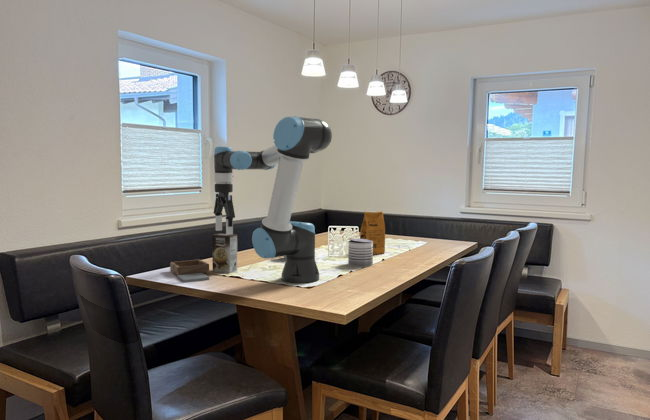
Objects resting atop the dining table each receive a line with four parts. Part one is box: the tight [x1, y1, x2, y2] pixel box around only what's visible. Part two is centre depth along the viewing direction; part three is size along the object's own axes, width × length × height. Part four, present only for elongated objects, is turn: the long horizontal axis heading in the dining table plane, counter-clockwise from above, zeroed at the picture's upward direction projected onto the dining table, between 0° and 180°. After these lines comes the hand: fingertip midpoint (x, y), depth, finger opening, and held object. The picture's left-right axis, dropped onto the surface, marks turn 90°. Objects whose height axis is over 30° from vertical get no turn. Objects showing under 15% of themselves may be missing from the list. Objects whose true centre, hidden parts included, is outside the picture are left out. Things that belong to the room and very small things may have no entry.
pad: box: [176, 273, 210, 283], centre depth 196 cm, size 10×10×1 cm
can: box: [347, 237, 374, 268], centre depth 225 cm, size 11×11×12 cm
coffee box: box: [211, 232, 238, 274], centre depth 209 cm, size 9×6×16 cm
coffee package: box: [359, 211, 386, 255], centre depth 255 cm, size 10×12×22 cm
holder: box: [169, 259, 210, 277], centre depth 207 cm, size 13×13×4 cm
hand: (224, 232), depth 209 cm, fingers open, 13 cm apart
